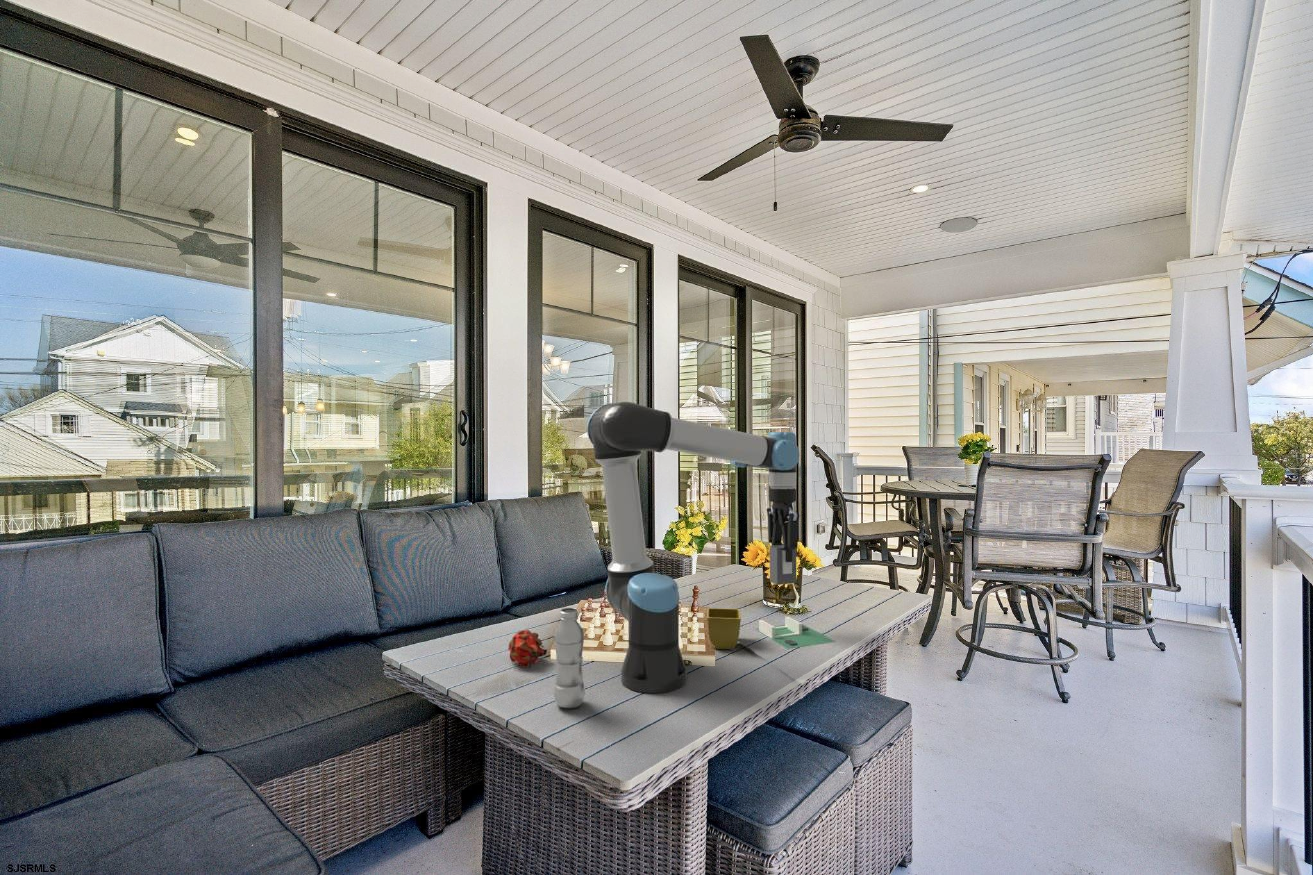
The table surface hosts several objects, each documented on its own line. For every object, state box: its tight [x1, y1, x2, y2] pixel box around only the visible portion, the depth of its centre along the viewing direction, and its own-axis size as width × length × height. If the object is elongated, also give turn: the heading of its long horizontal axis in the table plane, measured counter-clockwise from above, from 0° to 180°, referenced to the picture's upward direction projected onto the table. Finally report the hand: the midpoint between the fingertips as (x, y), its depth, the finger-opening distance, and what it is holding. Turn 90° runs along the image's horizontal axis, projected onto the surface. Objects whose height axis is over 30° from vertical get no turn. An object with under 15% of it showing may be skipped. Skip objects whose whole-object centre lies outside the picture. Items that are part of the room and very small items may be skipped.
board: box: [755, 616, 837, 649], centre depth 168 cm, size 15×17×4 cm
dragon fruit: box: [508, 629, 548, 668], centre depth 151 cm, size 8×8×12 cm
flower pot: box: [706, 607, 742, 650], centre depth 162 cm, size 9×9×9 cm
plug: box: [769, 545, 797, 586], centre depth 169 cm, size 7×4×10 cm, turn 109°
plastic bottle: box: [553, 607, 586, 709], centre depth 128 cm, size 6×7×20 cm
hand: (782, 571), depth 169 cm, fingers closed on plug, 4 cm apart
